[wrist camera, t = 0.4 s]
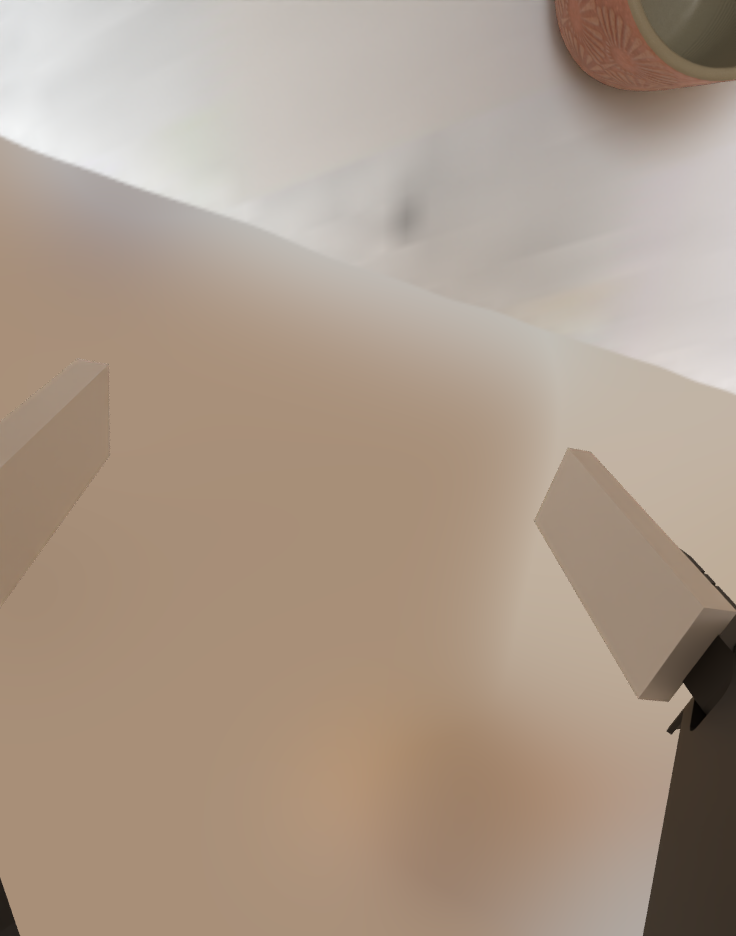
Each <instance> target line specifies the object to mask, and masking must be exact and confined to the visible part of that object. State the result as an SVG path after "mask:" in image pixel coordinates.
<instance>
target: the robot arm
mask: <svg viewBox="0 0 736 936" xmlns="http://www.w3.org/2000/svg"><path fill="white" fill-rule="evenodd" d="M109 430H110V426H109V364H105V363H99V362H94V361H88V360H83V359H76V360H75V361H74V362H72V363H71V364H70V365H69V366H68V367H66V368H65V369H64V370H63V371H62V372H60V373H59V374H58V375H56V376H55V377H54V378H53V379H52V380H50V381H49V382H48V383H47V384H45V385H44V386H43V387H42V388H40V389H39V390H38V391H37V392H35V393H34V394H33V395H32V396H30V397H29V398H28V399H27V400H26V401H24V402H23V403H22V404H21V405H20V406H18V407H17V408H16V409H15V410H13V411H12V412H11V413H9V414H8V415H7V416H6V417H5V418H3V419H2V420H1V421H0V608H1V606H2V605H3V604H4V602H5V601H6V599H7V598H8V596H9V595H10V594H11V592H12V591H13V590H14V588H15V587H16V585H17V584H18V583H19V581H20V580H21V578H22V577H23V576H24V574H25V573H26V571H27V570H28V568H29V567H30V566H31V565H32V563H33V562H34V560H35V559H36V558H37V556H38V555H39V553H40V552H41V551H42V549H43V548H44V547H45V545H46V544H47V542H48V541H49V540H50V538H51V537H52V535H53V534H54V533H55V531H56V530H57V528H58V527H59V526H60V524H61V523H62V522H63V520H64V519H65V517H66V516H67V515H68V513H69V512H70V510H71V509H72V508H73V506H74V504H75V503H76V502H77V501H78V499H79V498H80V497H81V495H82V494H83V492H84V491H85V490H86V488H87V487H88V485H89V484H90V483H91V481H92V480H93V479H94V477H95V476H96V474H97V473H98V472H99V470H100V469H101V467H102V466H103V464H104V463H105V462H106V460H107V459H108V457H109V456H110V431H109ZM534 522H535V523H536V525H537V527H538V529H539V530H540V532H541V534H542V535H543V537H544V538H545V541H546V542H547V544H548V546H549V547H550V549H551V551H552V552H553V554H554V556H555V558H556V559H557V561H558V563H559V565H560V566H561V568H562V569H563V571H564V573H565V575H566V577H567V578H568V580H569V582H570V583H571V585H572V587H573V589H574V590H575V592H576V594H577V595H578V597H579V598H580V601H581V602H582V604H583V605H584V607H585V609H586V611H587V612H588V614H589V616H590V618H591V619H592V621H593V623H594V624H595V626H596V628H597V630H598V631H599V633H600V635H601V636H602V638H603V640H604V642H605V643H606V644H607V647H608V648H609V650H610V652H611V653H612V655H613V657H614V659H615V660H616V662H617V664H618V666H619V667H620V669H621V671H622V672H623V674H624V676H625V677H626V679H627V681H628V683H629V684H630V686H631V688H632V689H633V691H634V693H635V695H636V696H637V698H638V699H645V700H655V701H666V702H669V701H670V699H671V698H672V697H673V695H674V694H675V693H676V691H677V690H678V689H679V688H680V686H681V685H682V684H683V683H684V684H685V686H686V687H687V689H688V690H689V692H690V693H691V694H692V696H693V698H692V699H691V700H690V702H689V703H688V704H687V705H686V706H685V708H684V709H683V710H682V711H681V713H680V714H679V715H678V716H677V718H676V719H675V720H674V721H673V723H672V724H671V725H670V727H669V728H668V730H667V732H669V733H670V734H672V733H673V732H674V731H675V730H676V729H680V734H679V739H678V745H677V751H676V756H675V762H674V767H673V772H672V778H671V783H670V790H669V795H668V800H667V806H666V812H665V817H664V823H663V828H662V834H661V839H660V844H659V851H658V856H657V861H656V867H655V872H654V878H653V884H652V889H651V895H650V900H649V905H648V911H647V917H646V922H645V927H644V933H643V936H736V605H735V604H734V603H733V601H732V600H731V599H730V598H729V597H728V596H727V595H726V594H725V593H724V592H723V591H722V590H721V589H720V587H719V586H715V582H714V581H713V580H712V579H711V578H710V577H709V576H708V575H707V574H704V572H705V571H704V570H703V569H702V568H701V567H700V566H699V565H698V564H697V563H696V562H695V561H694V559H693V558H692V557H691V556H689V555H688V554H687V553H685V552H684V551H682V550H681V549H680V548H678V546H677V545H676V544H675V543H674V542H673V541H672V540H671V539H670V538H669V537H668V536H667V535H666V533H665V532H664V531H663V530H662V529H661V528H660V527H659V526H658V525H657V524H656V523H655V521H654V520H653V519H652V518H651V517H650V516H649V515H648V514H647V513H646V512H645V510H644V509H643V508H642V507H641V506H640V505H639V504H638V503H637V502H636V501H635V500H634V499H633V497H632V496H631V495H630V494H629V493H628V492H627V491H626V490H625V489H624V488H623V486H622V485H621V484H620V483H619V482H618V481H617V480H616V479H615V478H614V477H613V476H612V474H611V473H610V472H609V471H608V470H607V469H606V468H605V467H604V466H603V465H602V464H601V463H600V461H599V460H598V459H597V458H596V457H595V456H594V455H593V454H592V453H591V452H589V451H583V450H577V449H572V448H568V449H567V451H566V453H565V455H564V458H563V460H562V462H561V464H560V466H559V468H558V471H557V473H556V475H555V477H554V479H553V481H552V484H551V486H550V488H549V490H548V492H547V494H546V496H545V499H544V501H543V503H542V505H541V507H540V509H539V512H538V514H537V516H536V518H535V520H534ZM0 936H20V935H19V932H18V929H17V926H16V924H15V920H14V917H13V914H12V911H11V908H10V905H9V902H8V899H7V896H6V893H5V891H4V888H3V885H2V882H1V879H0Z"/></svg>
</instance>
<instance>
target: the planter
mask: <svg viewBox="0 0 736 936" xmlns="http://www.w3.org/2000/svg"><path fill="white" fill-rule="evenodd" d="M555 8H556V15H557V20H558V25H559V29H560V32H561V35H562V38H563V40H564V43H565V45H566V47H567V49H568V51H569V53H570V55H571V56H572V57H573V59H574V60H575V62H576V63H577V64H578V65H579V66H580V67H581V69H582V70H583V71H585V72H586V73H587V74H588V75H589V76H591V77H593V78H594V79H596V80H597V81H599V82H601V83H603V84H605V85H608V86H611V87H614V88H618V89H624V90H632V91H656V90H667V89H675V88H683V87H690V86H698V85H705V84H711V83H718V82H725V81H733V80H736V0H555Z"/></svg>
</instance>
